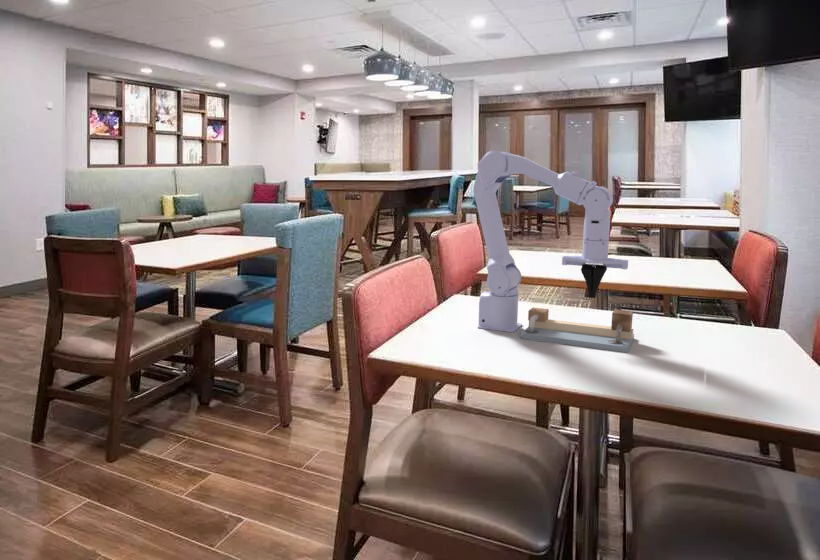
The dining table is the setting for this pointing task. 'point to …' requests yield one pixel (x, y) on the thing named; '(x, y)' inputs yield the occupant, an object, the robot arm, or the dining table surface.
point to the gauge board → (574, 332)
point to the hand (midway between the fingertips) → (592, 297)
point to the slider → (621, 322)
